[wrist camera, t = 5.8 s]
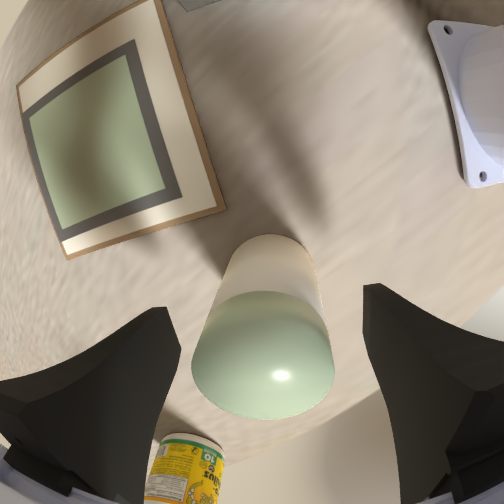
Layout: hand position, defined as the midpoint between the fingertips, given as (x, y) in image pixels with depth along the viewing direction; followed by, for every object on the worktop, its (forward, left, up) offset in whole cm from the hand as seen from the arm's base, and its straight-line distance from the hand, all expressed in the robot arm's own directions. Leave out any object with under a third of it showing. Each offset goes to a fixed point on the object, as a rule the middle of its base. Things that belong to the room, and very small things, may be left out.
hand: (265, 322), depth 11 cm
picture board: (+6, -9, -4) cm, 11 cm away
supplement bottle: (+10, +14, -4) cm, 18 cm away
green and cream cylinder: (0, 0, -4) cm, 4 cm away
